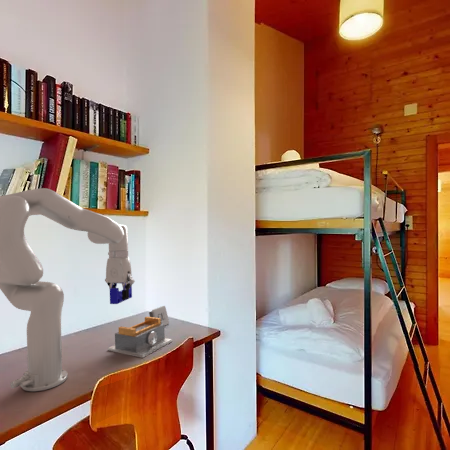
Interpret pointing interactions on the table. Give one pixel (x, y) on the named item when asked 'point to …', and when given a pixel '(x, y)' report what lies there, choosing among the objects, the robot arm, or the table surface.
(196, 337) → the table surface
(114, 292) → the blue u-shaped block
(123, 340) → the motor housing
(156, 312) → the electrical switch
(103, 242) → the robot arm
